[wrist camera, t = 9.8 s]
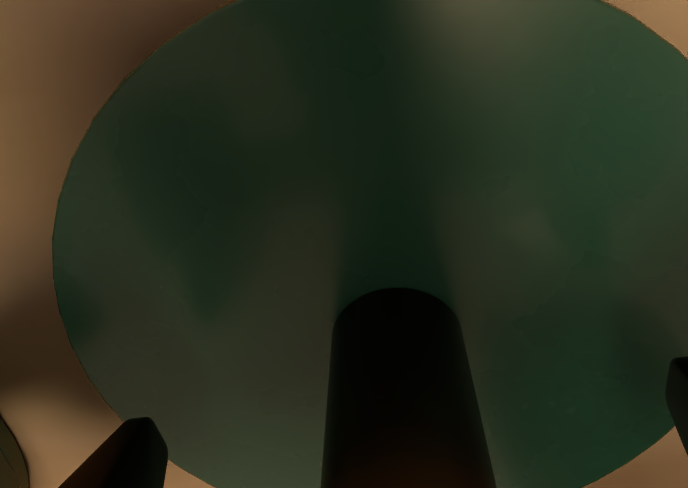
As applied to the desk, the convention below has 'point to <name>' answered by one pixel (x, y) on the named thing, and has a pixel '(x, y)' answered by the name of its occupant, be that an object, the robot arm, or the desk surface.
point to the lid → (387, 243)
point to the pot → (11, 461)
